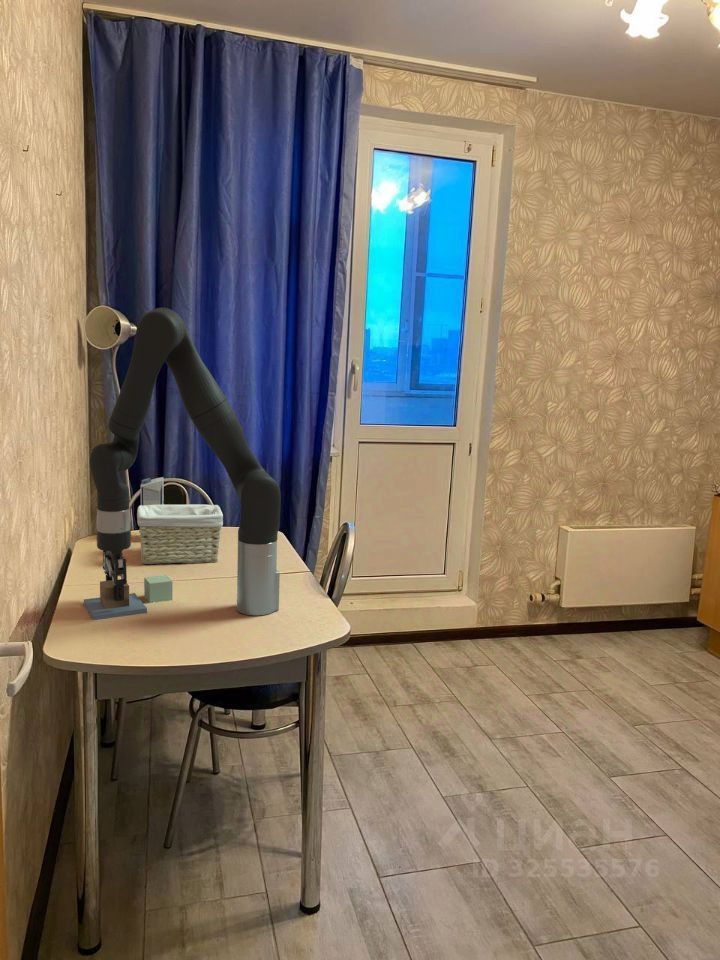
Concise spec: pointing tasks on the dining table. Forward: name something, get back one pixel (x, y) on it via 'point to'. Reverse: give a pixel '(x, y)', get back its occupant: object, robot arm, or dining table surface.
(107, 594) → the walnut block
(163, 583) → the sage green block
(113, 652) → the dining table surface
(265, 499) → the robot arm
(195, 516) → the storage basket
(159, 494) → the milk carton
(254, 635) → the dining table surface
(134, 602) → the base board
